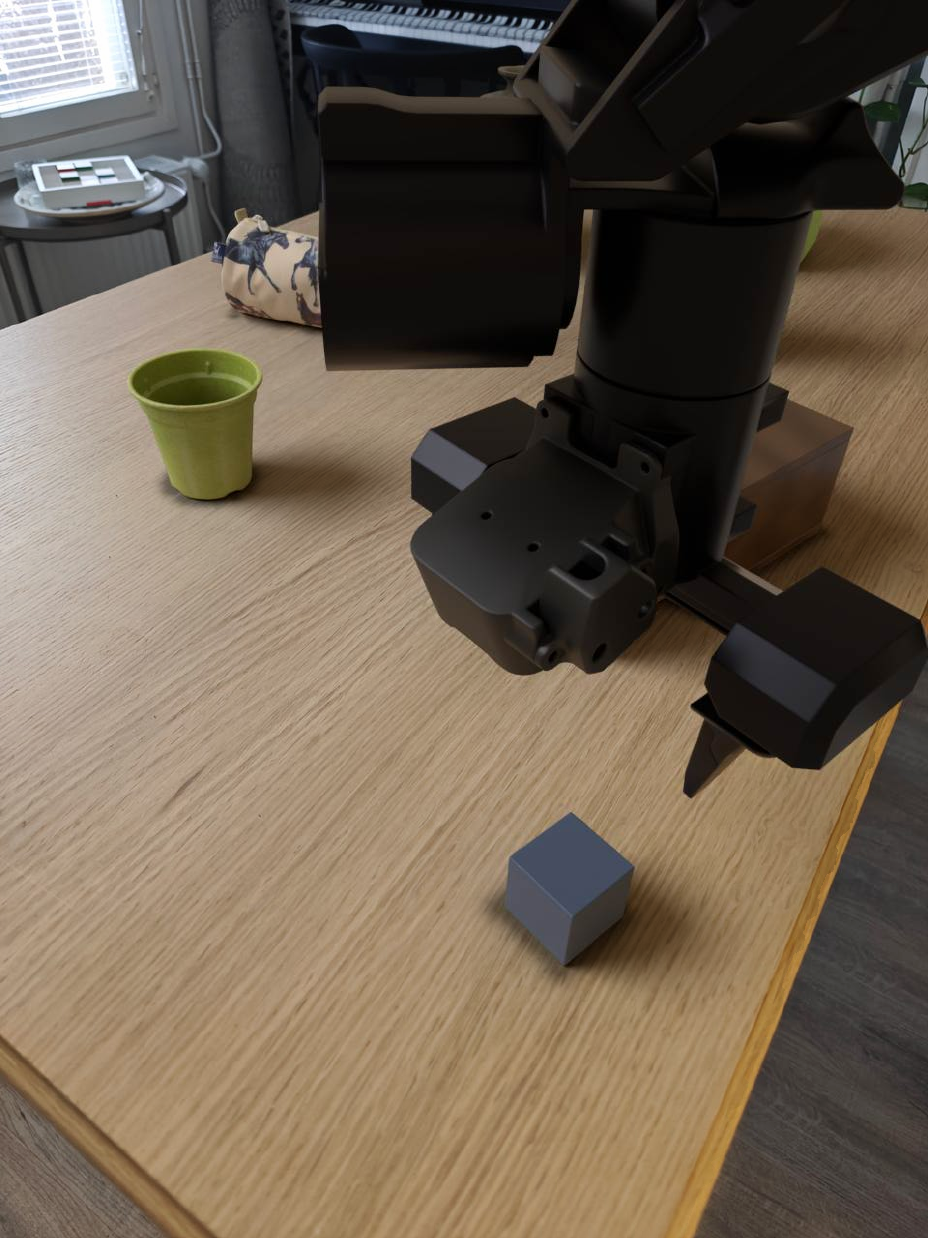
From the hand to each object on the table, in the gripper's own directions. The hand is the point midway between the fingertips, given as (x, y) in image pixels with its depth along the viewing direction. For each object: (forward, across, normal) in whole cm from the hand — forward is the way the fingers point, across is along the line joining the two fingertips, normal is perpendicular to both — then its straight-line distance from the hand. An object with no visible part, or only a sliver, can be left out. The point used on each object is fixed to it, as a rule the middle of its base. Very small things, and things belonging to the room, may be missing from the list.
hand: (605, 720), depth 37 cm
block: (+12, +1, -2) cm, 12 cm away
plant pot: (+12, -43, +4) cm, 45 cm away
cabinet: (+11, -16, +28) cm, 34 cm away
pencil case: (+12, -62, +28) cm, 69 cm away
